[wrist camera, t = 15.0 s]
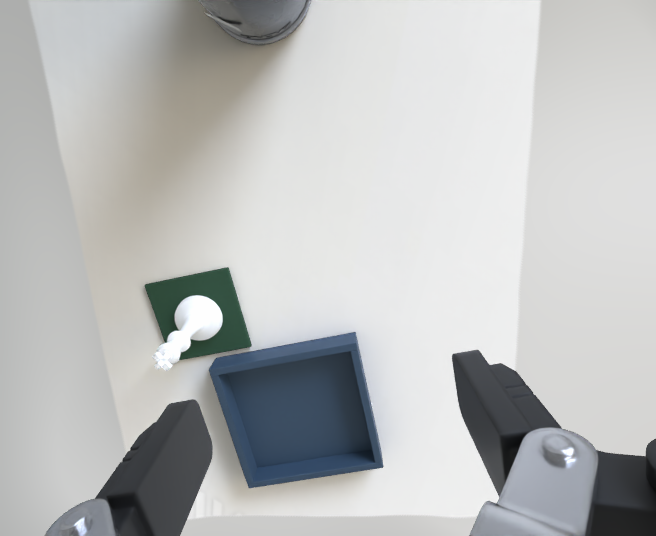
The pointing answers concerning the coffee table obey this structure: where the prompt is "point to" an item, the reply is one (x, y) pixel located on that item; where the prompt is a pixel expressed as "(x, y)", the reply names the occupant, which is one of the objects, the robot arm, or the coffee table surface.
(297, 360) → the tray
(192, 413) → the robot arm
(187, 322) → the chess piece
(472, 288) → the coffee table surface
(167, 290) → the pad
